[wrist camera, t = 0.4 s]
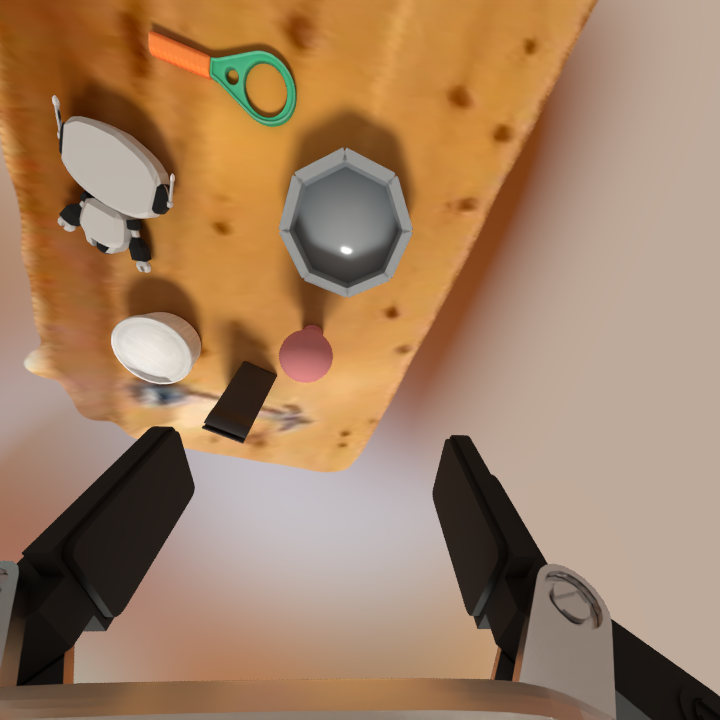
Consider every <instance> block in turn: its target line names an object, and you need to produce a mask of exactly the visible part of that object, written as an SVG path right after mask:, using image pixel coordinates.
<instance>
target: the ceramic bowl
mask: <svg viewBox="0 0 720 720" xmlns="http://www.w3.org/2000/svg"><path fill="white" fill-rule="evenodd" d="M294 173H295V175H296V176H294V175H292V178H291V182H290V186H289V190H288V194H287V198H286V202H285V206H284V210H283V214H282V218H281V222H280V226H279V230H282V231H281V232H279V233H280V235H281V237H282V239H283V241H284V243H285V245H286V247H287V249H288V251H289V254H290V256H291V258H292V260H293V262H294V264H295V266H296V268H297V270H298V272H299V274H300V276H301V278H304V277H305V279H304V281H307V282H309V283H312V284H314V285H316V286H319V287H321V288H324V289H326V290H329V291H331V292H334V293H336V294H338V295H341V296H343V297H346V296H347V295H348V298H349V297H351V296H354V295H356V294H358V293H361V292H363V291H366V290H368V289H370V288H373V287H375V286H378V285H380V284H383V283H385V282H387V281H390V280H389V278H391V279H392V277H393V275H394V272H395V270H396V268H397V266H398V264H399V262H400V259H401V257H402V255H403V253H404V251H405V248H406V246H407V244H408V242H409V240H410V238H411V235H412V232H410V231H411V230H413V228H412V225H411V221H410V218H409V214H408V211H407V207H406V204H405V200H404V197H403V193H402V190H401V186H400V183H399V179H398V176H396V177H394V176H395V173H394V172H392V171H390V170H389V169H387V168H385V167H383V166H381V165H379V164H377V163H375V162H373V161H371V160H369V159H368V158H366V157H364V156H362V155H360V154H358V153H356V152H354V151H352V150H350V149H348V148H347V147H346V150H345V151H344V149H343V148H341V149H339V150H337V151H335V152H333V153H331V154H329V155H327V156H325V157H323V158H321V159H319V160H317V161H315V162H313V163H311V164H309V165H308V166H306V167H304V168H302V169H300V170H298V171H296V172H294Z"/></svg>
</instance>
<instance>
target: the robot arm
mask: <svg viewBox="0 0 720 720" xmlns="http://www.w3.org/2000/svg"><path fill="white" fill-rule="evenodd" d="M194 489H195V486H194V482H193V478H192V475H191V471H190V468H189V465H188V461H187V458H186V454H185V451H184V447H183V444H182V440H181V437H180V434H179V432H177V431H175V429H174V428H173V427H159V426H154V427H151V428H150V429H148V430H147V431H146V432H145V433H144V434H143V435H142V436H141V437H140V438H139V439H138V440H137V441H136V442H135V443H134V444H133V445H132V446H131V447H130V448H129V449H128V450H127V451H126V452H125V453H124V454H123V455H122V456H121V457H120V458H119V459H118V460H117V461H116V462H115V463H114V464H113V465H112V466H110V468H108V469H107V470H106V471H105V472H104V473H103V474H102V475H101V476H100V477H99V478H98V479H97V480H96V481H95V482H94V483H93V484H92V485H91V486H90V487H89V488H88V489H87V490H86V491H85V492H84V493H83V494H82V495H81V496H80V497H79V498H78V499H77V500H76V501H75V502H74V503H72V504H71V505H70V507H68V508H67V509H66V510H65V511H64V512H63V513H62V514H61V515H60V516H59V517H58V518H57V519H56V520H55V521H54V522H53V523H52V524H51V525H50V526H49V527H48V528H47V529H46V530H45V531H44V532H43V533H42V534H41V535H40V536H39V537H38V538H37V539H36V540H35V541H33V542H32V543H31V545H29V546H28V547H27V548H26V550H24V551H23V552H22V554H23V555H24V557H23V558H22V559H21V560H20V561H19V562H18V563H17V564H15V563H14V562H12V561H0V720H720V696H718V695H717V694H716V693H715V692H713V691H712V690H710V689H709V688H708V687H706V686H705V685H703V684H702V683H701V682H699V681H698V680H697V679H695V678H694V677H692V676H691V675H690V674H688V673H686V672H685V671H684V670H682V669H681V668H680V667H678V666H677V665H675V664H674V663H673V662H671V661H670V660H668V659H667V658H666V657H664V656H663V655H661V654H660V653H659V652H657V651H656V650H654V649H653V648H652V647H650V646H649V645H647V644H646V643H644V642H643V641H642V640H640V639H639V638H637V637H636V636H635V635H633V634H632V633H630V632H629V631H628V630H626V629H625V628H623V627H622V626H621V625H619V624H618V623H616V622H615V621H614V620H612V619H611V618H610V613H609V611H608V609H607V607H606V605H605V603H604V601H603V599H602V598H601V597H600V595H599V594H598V593H597V591H596V590H595V589H594V588H593V587H592V586H591V585H590V584H589V583H588V582H587V581H586V580H585V579H584V578H583V577H581V576H580V575H578V574H577V573H575V572H574V571H572V570H570V569H568V568H566V567H564V566H560V565H556V564H547V562H546V560H545V559H544V557H543V555H542V553H541V552H540V550H539V548H538V547H537V545H536V543H535V541H534V540H533V538H532V536H531V535H530V533H529V531H528V530H527V528H526V526H525V524H524V523H523V521H522V519H521V518H520V516H519V514H518V513H517V511H516V509H515V507H514V506H513V504H512V502H511V501H510V499H509V497H508V496H507V494H506V492H505V490H504V489H503V487H502V485H501V483H500V482H499V480H498V479H497V478H496V477H495V476H494V475H491V474H490V472H489V470H488V468H487V466H486V465H485V463H484V461H483V459H482V458H481V456H480V454H479V453H478V451H477V449H476V447H475V445H474V444H473V442H472V440H471V438H470V437H469V436H464V435H452V436H451V437H450V439H446V440H445V444H444V447H443V451H442V455H441V460H440V463H439V467H438V471H437V476H436V479H435V483H434V487H433V500H434V504H435V508H436V511H437V514H438V518H439V521H440V524H441V528H442V531H443V534H444V538H445V541H446V544H447V548H448V551H449V554H450V558H451V561H452V564H453V568H454V571H455V574H456V578H457V581H458V584H459V588H460V590H461V594H462V598H463V601H464V604H465V607H466V610H467V612H468V614H469V615H470V616H474V619H475V622H476V625H477V628H478V629H491V631H492V634H493V637H494V640H495V642H496V645H498V649H497V654H496V658H495V662H494V666H493V670H492V674H491V679H490V680H489V679H434V678H433V679H432V678H408V679H407V678H405V679H404V678H403V679H303V680H239V681H238V680H236V681H235V680H233V681H173V682H126V683H125V682H124V683H79V684H73V682H74V648H75V642H76V641H77V639H78V638H79V636H80V635H81V633H82V632H83V631H106V630H107V629H108V627H109V625H110V624H111V622H112V620H113V619H114V617H117V616H118V615H120V614H121V612H123V610H124V609H125V607H126V606H127V604H128V603H129V601H130V599H131V597H132V596H133V594H134V593H135V591H136V589H137V588H138V586H139V584H140V583H141V581H142V579H143V578H144V576H145V574H146V573H147V571H148V569H149V567H150V566H151V564H152V563H153V561H154V559H155V558H156V556H157V554H158V553H159V551H160V549H161V548H162V546H163V544H164V543H165V541H166V539H167V538H168V536H169V534H170V533H171V531H172V529H173V528H174V526H175V524H176V523H177V521H178V519H179V518H180V516H181V514H182V513H183V511H184V510H185V508H186V506H187V504H188V503H189V501H190V500H191V498H192V496H193V494H194Z"/></svg>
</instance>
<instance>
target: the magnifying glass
mask: <svg viewBox="0 0 720 720" xmlns="http://www.w3.org/2000/svg"><path fill="white" fill-rule="evenodd" d="M148 39H149V49H150V52H151V54H152V55H153V56H154V57H157V58H159V59H161V60H164V61H166V62H168V63H171V64H173V65H175V66H178V67H181V68H183V69H185V70H188V71H190V72H193V73H195V74H198V75H200V76H202V77H205V78H207V79H210V80H215V81H216V82H218V83H219V84H220V85H221V86H222V87H223V88H224V89H225V90H226V91H227V92H228V93H229V94H230V95H231V96H232V97H233V98H234V99H235V100H236V101H237V102H238V103H239V105H240V106H241V107H242V108H243V109H244V110H245V111H246V112H247V113H248V114H249V115H250V116H251V117H252V118H253V119H254V120H256V121H257V122H259V123H261V124H263V125H266V126H271V127H275V126H280V125H282V124H284V123H286V122H287V121H288V120H289V119H290V118H291V116H292V115H293V113H294V110H295V107H296V88H295V84H294V81H293V79H292V76H291V75H290V73H289V71H288V69H287V68H286V66H285V65H284V64H283V63H282V62H281V61H280V60H279V59H278V58H277V57H275V56H274V55H272V54H271V53H268V52H265V51H251V52H246V53H241V54H236V55H230V56H225V57H220V58H213V57H210V56H209V55H207V54H205V53H202V52H200V51H198V50H195V49H193V48H190V47H189V46H186V45H184V44H181V43H179V42H177V41H174V40H172V39H170V38H167V37H165V36H163V35H161V34H158V33H156V32H153V31H149V34H148ZM261 63H265V64H270V65H272V66H273V67H275V68H276V69H277V70H278V71H279V72H280V73H281V75H282V76H283V78H284V80H285V84H286V87H287V102H286V105H285V107H284V109H283V111H282V112H281V113H280V114H279V115H277V116H275V117H271V118H268V117H263V116H261V115H259V114H258V113H256V112H255V111H254V110H253V108H252V107H251V105H250V103H249V101H248V98H247V95H246V79H247V76H248V73H249V72H250V70H251V69H252V68H253V67H254V66H256V65H258V64H261ZM231 70H235V71H236V72H237V73H238V75H239V81H238V83H237V84H236V85H231V84H230V83H229V81H228V73H229V71H231Z"/></svg>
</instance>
